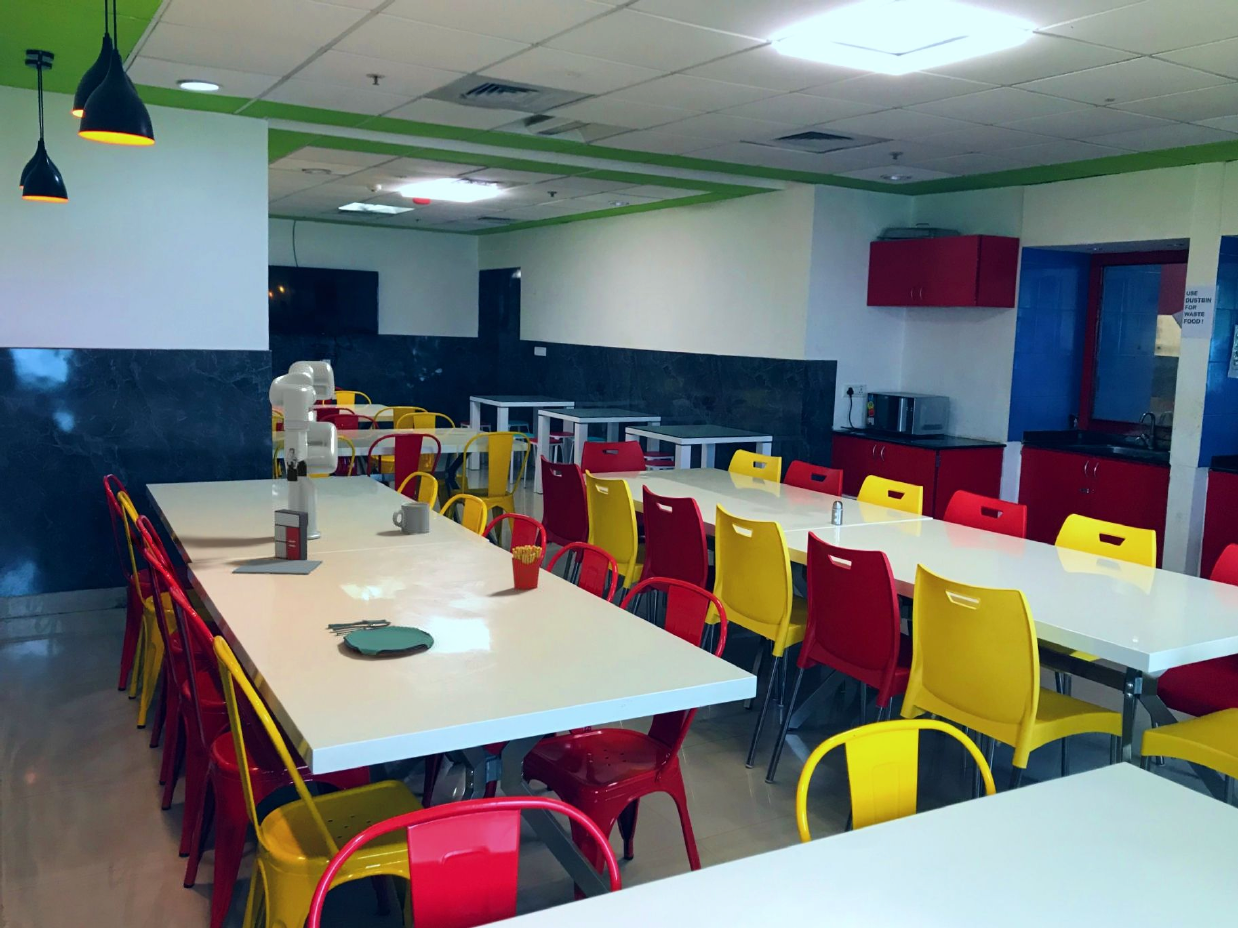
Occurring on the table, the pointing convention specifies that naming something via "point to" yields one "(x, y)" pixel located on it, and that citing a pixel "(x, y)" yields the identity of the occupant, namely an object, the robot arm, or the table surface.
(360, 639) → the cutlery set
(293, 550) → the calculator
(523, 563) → the french fries
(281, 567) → the mat
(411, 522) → the coffee mug
